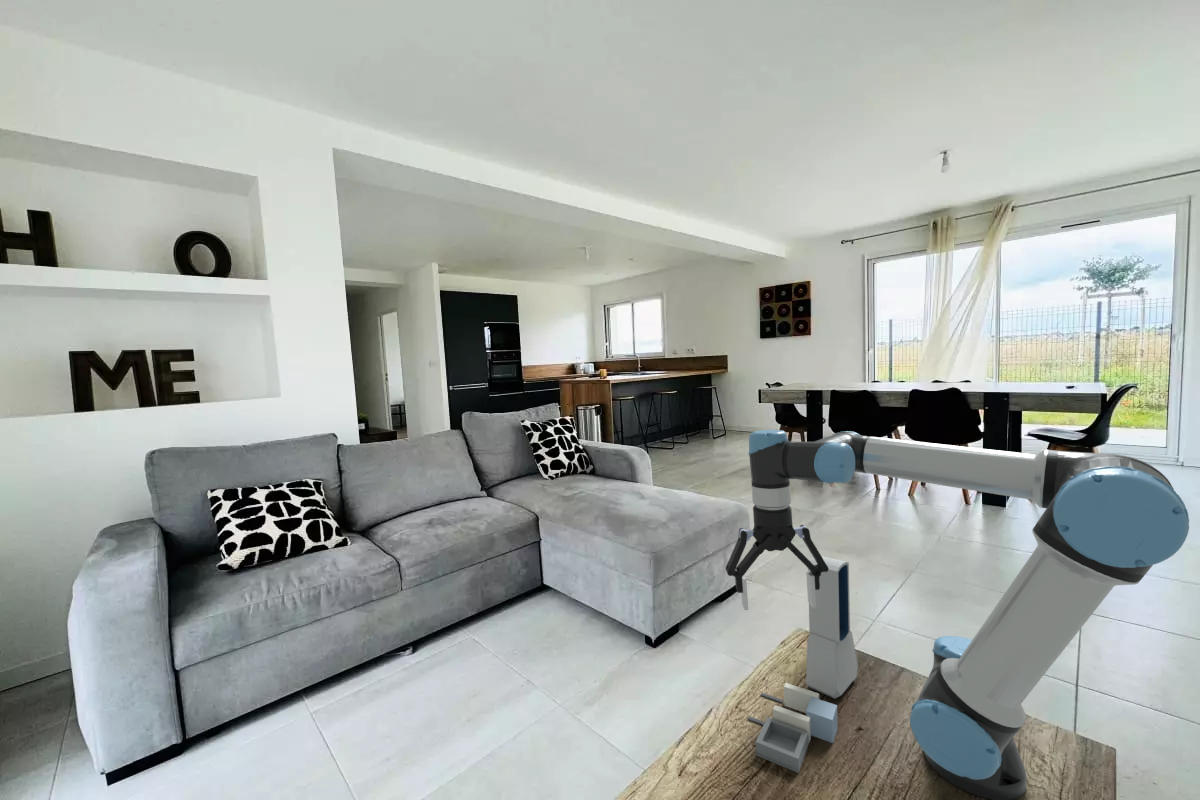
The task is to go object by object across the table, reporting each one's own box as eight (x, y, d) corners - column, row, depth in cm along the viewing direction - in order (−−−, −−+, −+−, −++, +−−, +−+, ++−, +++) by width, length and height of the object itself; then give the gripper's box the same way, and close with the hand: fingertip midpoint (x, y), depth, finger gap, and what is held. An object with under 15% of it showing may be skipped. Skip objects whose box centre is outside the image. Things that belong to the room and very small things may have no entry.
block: (837, 728, 102) (837, 705, 101) (833, 743, 98) (832, 720, 97) (812, 719, 105) (811, 696, 104) (806, 733, 100) (806, 710, 100)
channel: (819, 713, 106) (819, 693, 106) (809, 743, 98) (808, 722, 98) (786, 701, 110) (785, 682, 110) (773, 729, 102) (772, 709, 102)
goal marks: (783, 701, 110) (783, 700, 110) (771, 728, 102) (771, 727, 102) (761, 693, 113) (761, 692, 113) (747, 719, 105) (747, 718, 105)
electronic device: (827, 665, 122) (825, 548, 120) (859, 678, 117) (857, 556, 115) (805, 688, 114) (802, 564, 112) (838, 704, 108) (835, 573, 107)
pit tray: (808, 744, 97) (808, 731, 97) (798, 773, 91) (798, 758, 91) (768, 729, 102) (767, 716, 102) (756, 755, 96) (755, 741, 95)
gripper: (827, 497, 103) (833, 595, 104) (708, 503, 105) (715, 599, 106) (841, 506, 95) (848, 612, 96) (713, 513, 98) (720, 616, 99)
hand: (778, 605), depth 101 cm, fingers open, 13 cm apart
